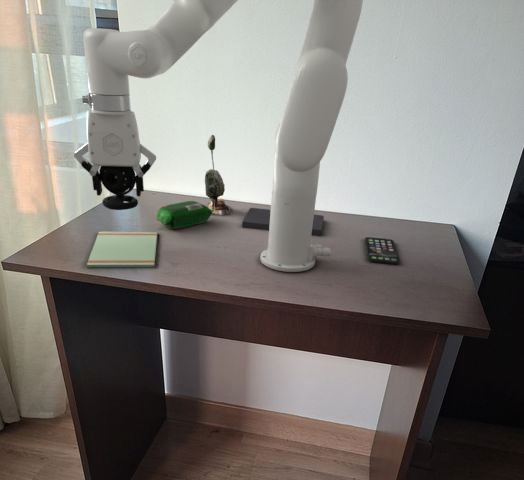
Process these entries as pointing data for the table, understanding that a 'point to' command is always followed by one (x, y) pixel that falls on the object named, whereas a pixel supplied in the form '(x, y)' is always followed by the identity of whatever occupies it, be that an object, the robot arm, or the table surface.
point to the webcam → (118, 186)
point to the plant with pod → (215, 186)
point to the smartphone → (381, 250)
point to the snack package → (183, 214)
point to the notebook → (262, 220)
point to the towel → (124, 249)
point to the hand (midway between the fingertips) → (119, 193)
